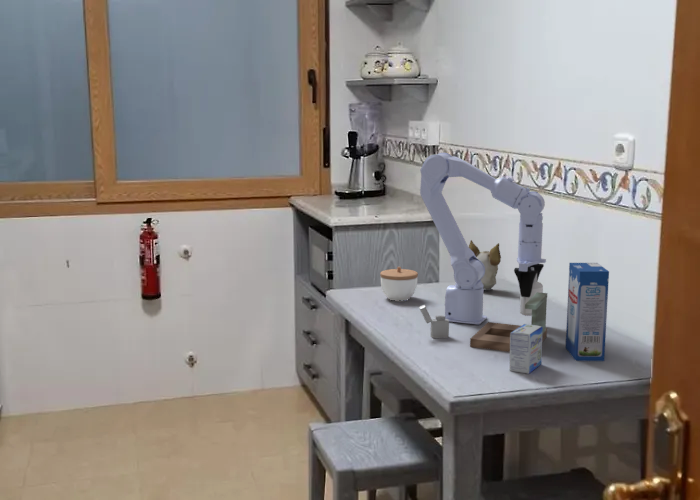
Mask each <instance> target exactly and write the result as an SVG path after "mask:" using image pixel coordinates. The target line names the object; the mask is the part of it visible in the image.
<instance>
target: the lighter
mask: <svg viewBox="0 0 700 500" xmlns="http://www.w3.org/2000/svg"><path fill="white" fill-rule="evenodd" d="M418 308H419V310H420V313H421V315H422V317H423V318H424V322H425V323H426V324H430V338H432V339H444V338H445V339H446V338H447V339H448V338H450V337H449V335H450V321H449V320H448V319H445V318H446V317H445V315H435V319H433V318H432V317H431V315H430V313H429V311H428V309H427V307H426V305H425V304H422V305H420V306H419V307H418Z"/></svg>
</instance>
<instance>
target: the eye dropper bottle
mask: <svg viewBox="0 0 700 500" xmlns="http://www.w3.org/2000/svg"><path fill="white" fill-rule="evenodd" d="M531 270H534V267H531ZM537 292H538V293H544V285H543V284H542V283H541V282H540V281H537V274H536V276H535V279H534V282H533V286H532V292H531V295H530V297H521V294H520V297H519V298H520V299H519V300H520V304H519V313H520V314H521V315H523V316H525V317H526V316H527V317H528V316H529V317H532V309H525V304H526V303H527V302H528V301H529V300H530V299H531V298H532V297H533V296H534V295H535V294H536V293H537Z"/></svg>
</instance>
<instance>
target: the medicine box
mask: <svg viewBox="0 0 700 500" xmlns="http://www.w3.org/2000/svg"><path fill="white" fill-rule="evenodd" d="M520 326H521V327H519V328H517V329H516V330H514V331H513V332H511V333H510V352H509V372H516V373H520V374H527V375H528V374H531V373H532V372H533V371H534V370H536V369H537V368H538V367H540V366H541V365H542V362H543V361H542V355H543V353H542V352H543V342H542V332H543V327H542V326H537V325H531V324H530V323H529V324H525V323H524V324H523V325H520Z"/></svg>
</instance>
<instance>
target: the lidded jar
mask: <svg viewBox="0 0 700 500" xmlns="http://www.w3.org/2000/svg"><path fill="white" fill-rule="evenodd" d="M418 276H419V273H418V272H417V271H415V270H413V269H406V268H402V267H401V266H397V267H396V268H392V269H390V268H389V269H386V270H381V271H380V275H379V277H380V286H381V290H382V293H383V294H384V296H386V297H387V299H388V300H389V299H390V300H389V301H391V300H395V301H394V302H400V301H399V300H407V299H409V300H410V298H411V297H412V296H413V295H414V294H415V293H416V289H417V287H418ZM407 301H408V300H407Z"/></svg>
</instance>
